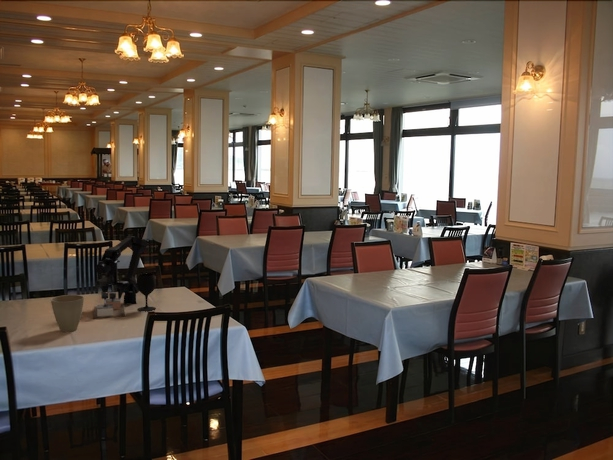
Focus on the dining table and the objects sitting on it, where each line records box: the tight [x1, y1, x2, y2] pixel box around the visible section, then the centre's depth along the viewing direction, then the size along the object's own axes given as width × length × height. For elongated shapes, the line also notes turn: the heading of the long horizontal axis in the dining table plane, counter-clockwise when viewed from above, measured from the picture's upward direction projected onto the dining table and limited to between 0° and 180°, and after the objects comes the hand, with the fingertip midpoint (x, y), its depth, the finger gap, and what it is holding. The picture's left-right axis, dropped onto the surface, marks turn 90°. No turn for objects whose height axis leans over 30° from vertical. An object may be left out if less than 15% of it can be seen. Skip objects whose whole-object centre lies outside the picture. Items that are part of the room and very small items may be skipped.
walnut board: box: [92, 304, 126, 320], centre depth 310 cm, size 16×26×1 cm, turn 20°
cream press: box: [96, 304, 113, 317], centre depth 302 cm, size 8×8×4 cm
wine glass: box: [136, 272, 157, 313], centre depth 316 cm, size 10×10×20 cm
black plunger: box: [100, 291, 109, 307], centre depth 302 cm, size 4×4×8 cm
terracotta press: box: [106, 297, 121, 309], centre depth 317 cm, size 8×8×4 cm
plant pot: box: [50, 294, 85, 333], centre depth 273 cm, size 15×15×16 cm
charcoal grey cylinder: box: [108, 292, 117, 301], centre depth 317 cm, size 4×4×8 cm
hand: (112, 298), depth 317 cm, fingers open, 9 cm apart
